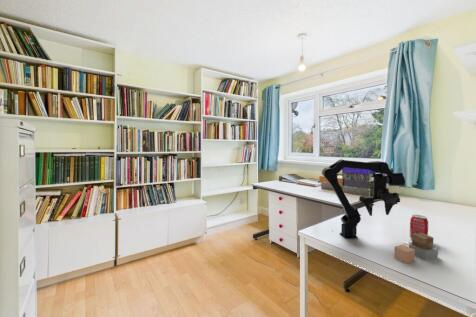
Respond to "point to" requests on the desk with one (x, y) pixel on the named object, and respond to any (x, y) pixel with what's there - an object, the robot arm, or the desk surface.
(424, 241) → the walnut cube
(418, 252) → the slate base
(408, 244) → the swatch
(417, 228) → the soda can
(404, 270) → the desk surface
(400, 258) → the terracotta cube
